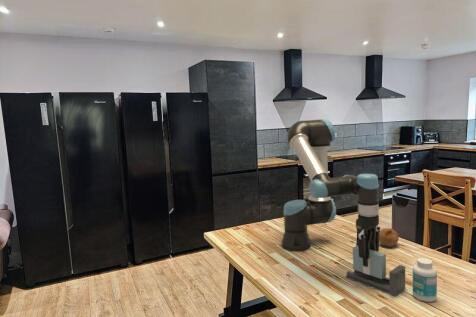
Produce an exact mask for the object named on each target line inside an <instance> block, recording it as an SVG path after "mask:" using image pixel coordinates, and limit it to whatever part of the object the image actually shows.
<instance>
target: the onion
mask: <svg viewBox="0 0 476 317" xmlns="http://www.w3.org/2000/svg"><path fill="white" fill-rule="evenodd" d="M399 238H400V237H399V233H398V232H397V231H396V230H395V229H393V228H390V227H385V228H382V229H380V232H379V244H380V245H382V246H384V247H388V248H392V247H394V246H396V245H397V244H398V242H399Z"/></svg>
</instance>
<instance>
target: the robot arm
mask: <svg viewBox="0 0 476 317" xmlns="http://www.w3.org/2000/svg"><path fill="white" fill-rule="evenodd" d="M286 136H287V137H286V138H287V143H288V146H289V147H290V149H291V150H294V152H295V154H296V156H297V158H298V160H299V161H300V163H301V165H302V167H303V169H304V170H305V173H306V174H307V176H308V178H309V180H310V182H309V184H308V189H309V190H308V191H309V193H310V195H309V196H308V200H307V201H306V200H304V199H294V200H289V201H287V202H286V203H285V204H284V205H283V221H284V222H283V224H284V226H283V228H284V232H283V236H282V240H281V247H282V248H283V249H284V250H287V251H293V252H302V251H306V250H309V249H310V248H312V240H311V239H310V235H309V233H308V232H309V231H308V226H311V225H319V224H320V225H321V224H326V223H331V222H333V221H334V220H335V218H336V214H337V207H336V203H335V202H334V200H332V197H341V196H349V195H352V196H356V197H357V213H358V215H357V219H358V223H359V224H360V225H361V233H360V234H357V233H356V240H357V239H358V250H359V257H361V258H363V273H365V274H368V275H371V269H370V258H369V249H371V250H374V251H378V252H380V242H379V232H380V231H381V227H380V226H379V224H380V215H379V214H380V207H379V202H380V201H379V197H380V196H379V192H380V191H379V187H380V184H379V177H378V175H377V174H374V173H360V174H358V175H357V176H356V175H354V174H345V175H343V176H340V177H338V176H337V177H330V176H329V173H328V172H329V171H328V169H329V168H328V166H329V165H328V162H329V161H328V150H329V148H330V147H331V143H332V142H333V141H334V140H335V137H336V131H335V127H334V125H333V123H332V122H331V121H330V119H329V120H328V119H310V120H309V119H308V120H299V121H296V122H295V123H293V124H292V125H291V126H290V128H289V129H288V131H287V135H286ZM377 225H378V227H377Z"/></svg>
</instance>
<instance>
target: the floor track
mask: <svg viewBox="0 0 476 317" xmlns="http://www.w3.org/2000/svg"><path fill="white" fill-rule="evenodd" d="M353 270H354V271H350V270H348V271H347V270H346V276H345V278H346V279H349V280H351V281H354V282H357V283H358V284H360V285H361V284H362V285H364V286H366V287H369V288H372V289H373V290H374V289H375V290H377V291H380V292H382V293H385V294H387V295H390V296H393V297H396V296H398V295H399V294H401V293H402V292H403V291H405V289H406V266H404V265H402V264H399V265H397V266H396V267H395V268H393V269H392V270H390V271H389V272H388V273H389V274H388V276H389V277H387V276H386V277H385V278H383V279H380V278H377V277H374V276H371V275H368V274H365V273H363V272H360V271H357V270H355V269H353Z"/></svg>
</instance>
